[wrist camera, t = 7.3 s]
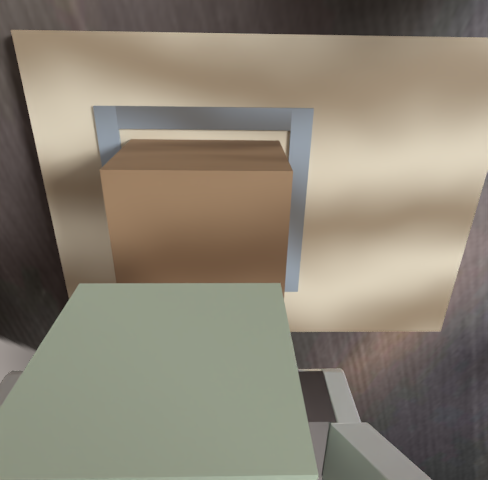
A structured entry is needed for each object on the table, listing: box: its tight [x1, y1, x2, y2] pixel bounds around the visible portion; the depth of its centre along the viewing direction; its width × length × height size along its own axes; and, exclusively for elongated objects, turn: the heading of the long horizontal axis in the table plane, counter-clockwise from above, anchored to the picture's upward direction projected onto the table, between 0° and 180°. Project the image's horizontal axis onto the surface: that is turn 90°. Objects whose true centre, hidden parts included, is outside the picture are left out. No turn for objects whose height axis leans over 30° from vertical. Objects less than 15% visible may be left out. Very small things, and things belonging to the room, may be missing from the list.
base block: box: [100, 139, 293, 298], centre depth 18 cm, size 7×7×5 cm
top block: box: [0, 283, 318, 480], centre depth 9 cm, size 5×5×5 cm
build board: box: [11, 30, 488, 332], centre depth 21 cm, size 16×22×1 cm
